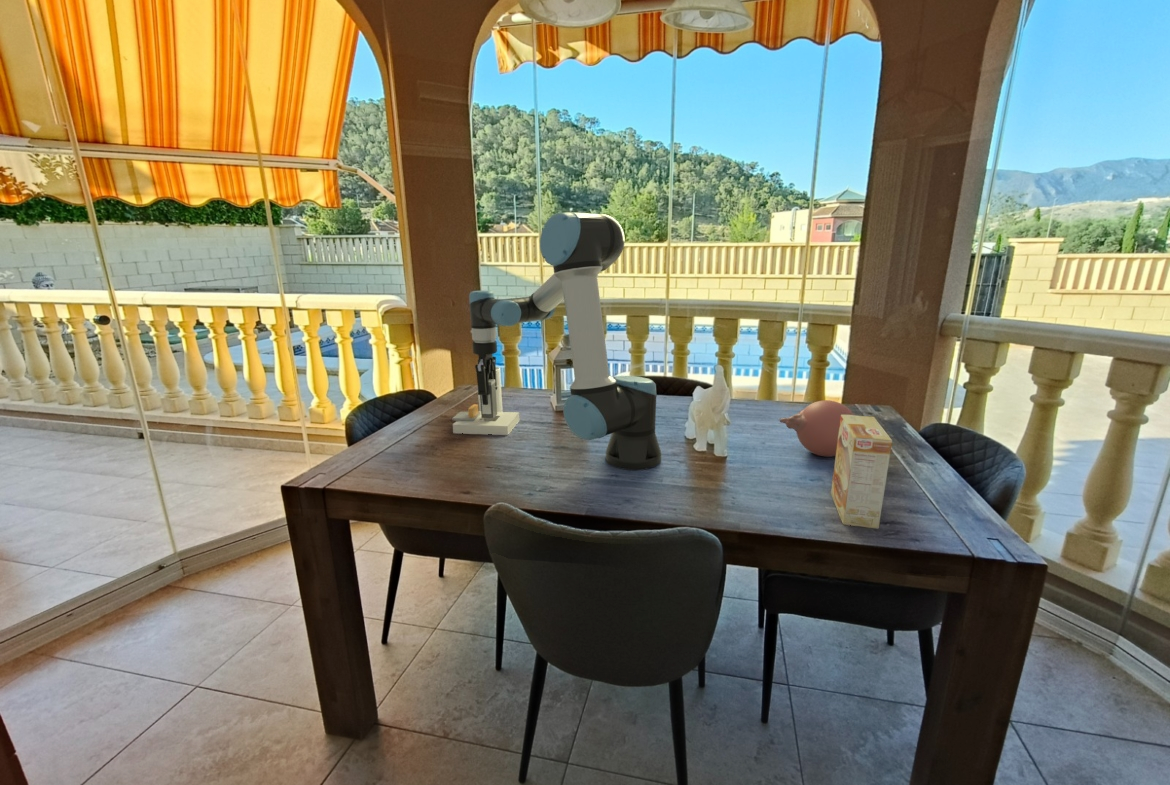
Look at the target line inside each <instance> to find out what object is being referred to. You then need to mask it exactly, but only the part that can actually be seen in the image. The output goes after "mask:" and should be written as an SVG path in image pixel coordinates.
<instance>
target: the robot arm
mask: <svg viewBox="0 0 1170 785" xmlns="http://www.w3.org/2000/svg"><path fill="white" fill-rule="evenodd" d="M625 240H626V239H625V233H624V230H623V228H622V226H621V225H620V222H618V221H617V220H616V219H615V218H613V217H612V216H610V215H608V214H603V213H586V212H574V211H569V212H557V213H555V214H552V215H551V216H549V218H548V219H547V220H546V222H545V223H544V226H543V228H542V230H541V233H540V237H539V249H540V253H541V256H542V258H543V259H544V261H545V262H546V264H549V265H550V266H552V268H553V274H552V275H551V276H550V277H549V278H548V279H546V281H545V282H543V284H541V285H540V286H539V287H538V288H537V289H536V290H535V291H534V292H532V294H531V295H529V296H524V297H514V298H499V299H498V298H495V295H494V294H495V293H494V292H493V291H492V290H473V291H470V293H469V295H468V296H469V299H468V300H469V303H468V306H469V313H470V316H469V317H470V325H471V330H469V331H470V334H471V339H472V341H473V342H472V352H473V354H474V355H478V360H477V364H475V371H476V382H477V383H476V384H478V386H477V396H478V395H481V399H482V413H483V414H491V401H490V394H489V379H495V386H497V382H496V367H497V364H496V363H497V362H496V361H497V357H496V356H493V355H494V354H496V353H497V352H498V345H497V344H498V342H497V341H496V339H497V326H501V327H513V326H515V325H516V324H521V323H529V322H538V321H544V320H545V321H546V320H548V319H551V318H552V317H554V313H555V312H556V311H555V310H556V307H557V306H559V304H560V303H562V302H564V308H565V315H566V322H567V324H566V325H567V330H568V337H569V345H570V351H571V359H572V366H573V373H574V380H573V382H572V383H571V384H570V385H569V390H570V396H568V398H567V399H566V400H565V401H564V404H563V408H562V409H563V410H562V411H563V412H562V414H563V417H564V420H565V423H566V425H567V427H568V429H570V431H571V432H572V433H573V434H574V435H575V436H576V437H577V438H580V439H581V440H584V441H593V440H596V439H602V438H604V437H606V436H608V435H610V438H609V440H608V444H607V447H606V450H605V461H606V463H608V465H610V466H612V467H615V468H617V469H622V470H628V471H643V470H648V469H651V468H654V467H657V466H658V465H660V464H661V461H662V451H661V448H660V444H659V441H658V439H657V435H656V434H657V433H656V421H657V420H656V418H657V415H656V414H657V396H658V395H657V384H656V383H655V382H654V380H652V379H650V378H646V377H641V376H636V375H635V376H633V375H616V376H614V377H613V376H611V374H610V369H609V362H608V361H609V360H608V354H607V346H606V345H607V344H606V337H605V330H604V321H603V314H602V312H603V311H602V305H601V298H600V296H601V295H600V290H599V281H598V276H599V274H600V273H601V272H604V271H606V270H607V269H609V268H610V267H611V266H612V265H613V264H615V262H616V261H617V260H618V259H619V258H620V256H621V254H622V252H623V250H624V248H625ZM496 390H497V387H496Z"/></svg>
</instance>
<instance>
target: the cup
mask: <svg viewBox="0 0 1170 785" xmlns="http://www.w3.org/2000/svg"><path fill="white" fill-rule="evenodd" d="M496 382H497V386H495V387H497V390H496V403H497V412H504V411H503V398H502V395H503V394H502V380H501V367H499V366H496ZM476 384H477V383H476ZM476 386H477V387H478V384H477V385H476ZM477 398H478V399H477V400H478V411H481V402H480V395H478V394H477Z"/></svg>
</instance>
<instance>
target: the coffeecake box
mask: <svg viewBox="0 0 1170 785" xmlns="http://www.w3.org/2000/svg"><path fill="white" fill-rule="evenodd" d="M892 445H893V439H892V438H891V437H890V436H889V434H888V433H887V432H886V431H885V429H884V428H883V427H882V425H881V424H880V423H879V422H878V420H877V419H876V417H874V416H867V415H866V416H864V415H863V416H862V415H855V414H854V415H841V418H840V426H839V434H838V442H837V450H836V456H835V459H834V468H833V474H832V475H833V476H832V482H831V491H830V496H831V498H832V500H833V503H834V505H835V507H836V509H837V513H838V515H839V518H840V521H841V523H842V525H844V526H850V525H851V526H853V527H861V528H868V529H877V530H878V529H879V528H880V522H881V515H882V509H883V502H884V495H885V491H886V490H885V489H886V483H887V477H888V471H889V465H890V464H889V463H890V458H891V453H892V452H891V451H892Z"/></svg>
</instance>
